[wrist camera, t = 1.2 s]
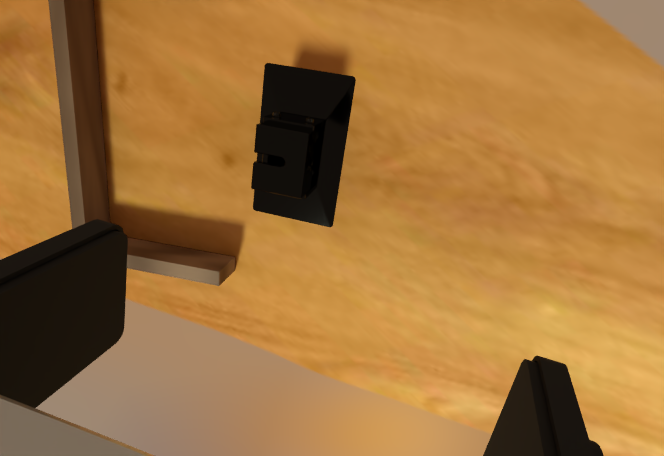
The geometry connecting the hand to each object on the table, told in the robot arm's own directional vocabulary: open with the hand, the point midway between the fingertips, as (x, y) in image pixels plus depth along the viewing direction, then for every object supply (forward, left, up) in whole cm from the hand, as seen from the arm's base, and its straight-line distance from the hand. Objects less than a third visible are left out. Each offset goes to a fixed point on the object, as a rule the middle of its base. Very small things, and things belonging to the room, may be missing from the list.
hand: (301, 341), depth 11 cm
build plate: (+6, 0, -20) cm, 21 cm away
